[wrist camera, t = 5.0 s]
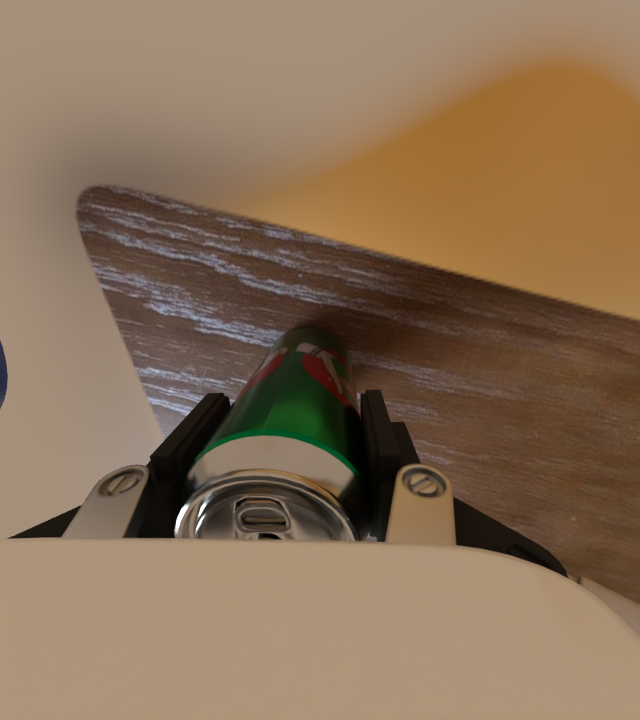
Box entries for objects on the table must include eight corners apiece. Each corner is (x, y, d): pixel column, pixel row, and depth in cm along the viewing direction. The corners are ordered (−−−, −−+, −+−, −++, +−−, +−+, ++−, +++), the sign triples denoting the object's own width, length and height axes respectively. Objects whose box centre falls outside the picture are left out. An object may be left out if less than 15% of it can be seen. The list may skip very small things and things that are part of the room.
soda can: (274, 403, 19) (184, 621, 8) (264, 326, 17) (129, 463, 6) (353, 400, 19) (378, 625, 7) (350, 321, 17) (378, 458, 6)
